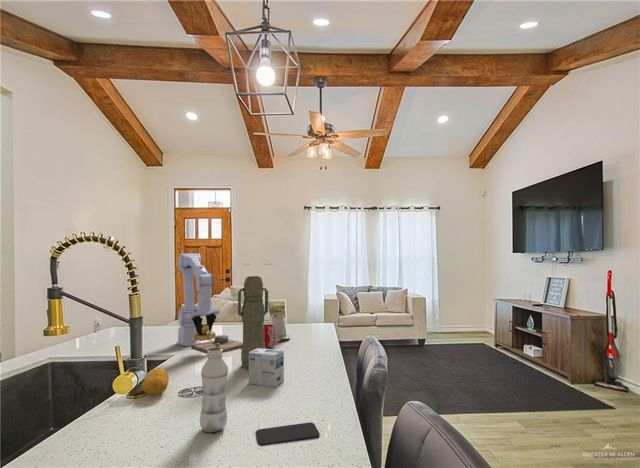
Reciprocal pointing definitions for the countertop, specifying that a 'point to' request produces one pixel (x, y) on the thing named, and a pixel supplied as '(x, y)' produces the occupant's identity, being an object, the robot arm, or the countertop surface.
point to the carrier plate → (219, 344)
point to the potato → (155, 381)
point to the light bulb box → (266, 367)
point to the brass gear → (204, 334)
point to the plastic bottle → (214, 392)
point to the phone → (287, 433)
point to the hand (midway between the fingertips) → (203, 332)
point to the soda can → (268, 335)
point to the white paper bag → (279, 321)
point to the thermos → (252, 316)
